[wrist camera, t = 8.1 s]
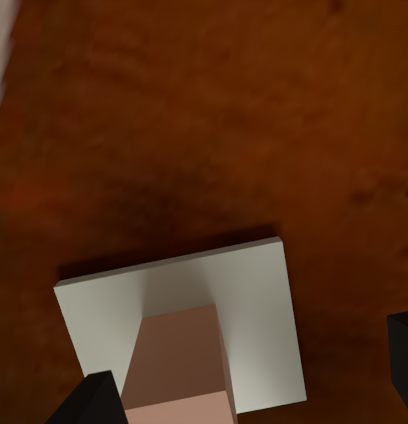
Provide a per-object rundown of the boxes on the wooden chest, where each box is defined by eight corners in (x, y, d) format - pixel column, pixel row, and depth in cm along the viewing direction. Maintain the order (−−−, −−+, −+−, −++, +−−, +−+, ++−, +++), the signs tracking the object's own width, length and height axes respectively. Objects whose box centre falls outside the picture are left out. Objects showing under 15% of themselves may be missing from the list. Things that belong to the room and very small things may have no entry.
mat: (278, 236, 18) (282, 241, 17) (302, 389, 20) (306, 399, 19) (59, 280, 18) (53, 287, 17) (109, 426, 20) (106, 438, 19)
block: (215, 303, 18) (225, 390, 12) (229, 366, 18) (245, 475, 13) (142, 318, 18) (116, 411, 12) (159, 380, 19) (144, 494, 13)
